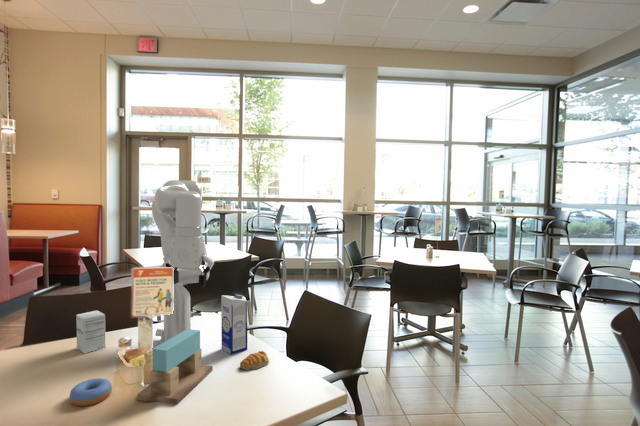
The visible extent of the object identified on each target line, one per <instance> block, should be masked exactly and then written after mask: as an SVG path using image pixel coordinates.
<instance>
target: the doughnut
mask: <svg viewBox="0 0 640 426" xmlns="http://www.w3.org/2000/svg"><path fill="white" fill-rule="evenodd" d="M112 389H113V386H112V383H111V381H110V380H108V379H106V378H103V377H102V378H101V377H100V378H99V377H96V378H90V379H86V380H83V381H81V382H79V383H77V384H76V385H74V387H72V389H70V392H69V400H70V402H71V403H72V405H74V406H77V405H78V407H85V406H93V405H94V404H95V405H96V404H98V403H101V402H103V401H104V400H106V399H107V398H108V397H109V396H110V395H111V393H112Z"/></svg>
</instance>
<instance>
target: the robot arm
mask: <svg viewBox="0 0 640 426" xmlns="http://www.w3.org/2000/svg"><path fill="white" fill-rule="evenodd" d="M202 208H203V197H202V187H201V185H200V184H199V182H198V181H196V180H186V179H185V180H179V179H176V180H175V179H174V180H168V181H166V182H165V183H164V184H163V185H162V186H161V187H159V188H157V189H156V191H155V194H154V200H153V201H152V203H151V214H152V218H153V221H154V223H155V225H156V227H157V229H158V232H159V233H160V234H159V235H160V241H161V242H160V243H161V251H162V256H163V259H162V260H163V263H162V264H161V266H160V268H161V267H173V268H174V269H175V270H174V311H173V314H170V315H164V314H163V328H157V329H155V334H154V336H156V337H160V339H159V345H160V344H162V343H164V342H165V341H167V340H169V339H171V338H173V337H174V336H176V335H178V334H180V333H181V332H183V331H185V330H187V329H191V326H192V323H191V294H190V292H189V291H188V290H187V288H185V286H184V285H189V284H196V283H198V288H200V289H201V288H203V287H205V286H206V285H207V281H208V280H209V277H210V271H211V270H212V269H213V266H214V265H215V261H214V260H213V259H212V258H210V257H208V255H207V250H206V244H205V240H204V237H203V236H202ZM173 218H175V220H174V219H173ZM191 330H192V329H191Z"/></svg>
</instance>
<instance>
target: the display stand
mask: <svg viewBox="0 0 640 426" xmlns="http://www.w3.org/2000/svg"><path fill="white" fill-rule="evenodd" d="M213 369H214V367H213V365H207V364H202V348H201V347H200V350H198V351H197V352H196V353H194V354H193V355H191V356H190V357H188V358H187V359H185V360H184V361H182V362H181V363H179V364H178V365H176V366H175V367H173V368H172V369H170V370H169V371H168V372H162V371H156V370H153V369H151V370H150V384H149V385H147V386H146V387H145V388H143V389H142V390H141V391H140V392H138V393H137V400H139V401H140V400H141V401H147V402H153V403H154V402H155V403H163V404H172V405H179V404H180V403H181V402H182V401H183V400H184V399H185V398H186V397H187V396H188V395H189V394H190V393H191V392H192V391H193V390H194V389H195V388H196V387H198V385H199V384H200V383H201V382H203V380H204V379H206V378H207V377H208V376H209V375H210V374H211V373H212V372H213Z"/></svg>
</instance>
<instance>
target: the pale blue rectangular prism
mask: <svg viewBox="0 0 640 426" xmlns="http://www.w3.org/2000/svg"><path fill="white" fill-rule="evenodd" d="M200 348H201V330H197V329H187V330H185V331H183V332H181V333H180V334H178V335H176V336H174V337H173V338H171V339H169V340H167V341H165V342H164V343H162V344H160V343H159V344H158V345H157V346H155V347H153V348H152V350H151V351H152V352H151V353H152V370H156V371H162V372H168V371H169V370H170V369H172V368H173V367H175V366H176V365H178V364H179V363H181V362H182V361H184V360H185V359H187V358H188V357H190V356H191V355H193V354H194V353H196V352H197V351H198V350H200Z"/></svg>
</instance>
